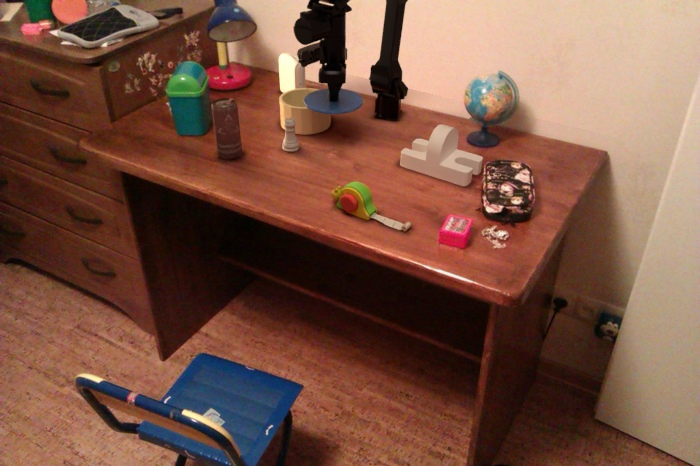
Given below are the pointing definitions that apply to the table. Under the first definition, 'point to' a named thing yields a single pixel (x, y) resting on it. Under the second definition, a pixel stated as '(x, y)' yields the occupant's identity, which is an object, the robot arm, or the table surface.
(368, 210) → the toy measuring tape
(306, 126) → the tin
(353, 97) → the lid
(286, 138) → the rook chess piece
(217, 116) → the can
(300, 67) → the photo printer
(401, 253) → the table surface
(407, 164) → the grey bracket part
